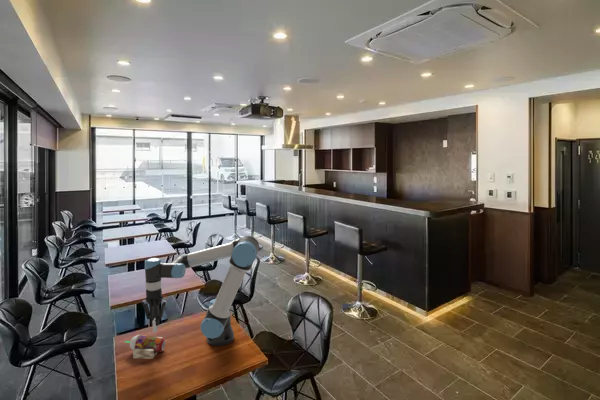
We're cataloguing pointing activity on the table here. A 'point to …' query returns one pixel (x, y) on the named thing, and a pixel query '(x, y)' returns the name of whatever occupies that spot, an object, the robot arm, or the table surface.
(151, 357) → the rest
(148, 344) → the smoothie
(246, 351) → the table surface
